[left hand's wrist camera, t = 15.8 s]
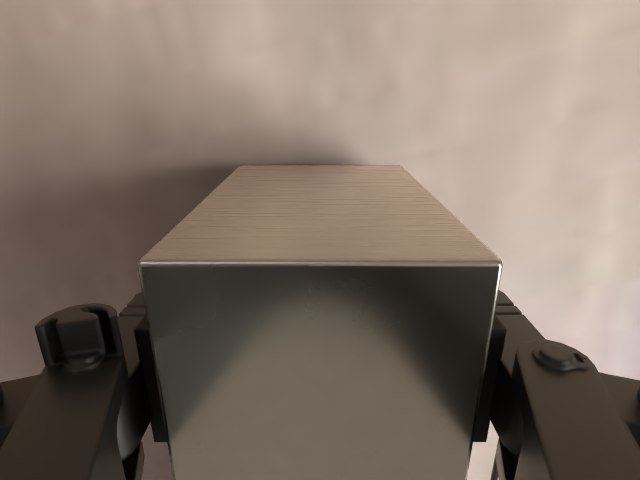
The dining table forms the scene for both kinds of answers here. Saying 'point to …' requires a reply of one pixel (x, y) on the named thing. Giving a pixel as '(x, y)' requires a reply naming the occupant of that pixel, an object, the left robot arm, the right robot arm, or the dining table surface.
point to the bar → (320, 328)
